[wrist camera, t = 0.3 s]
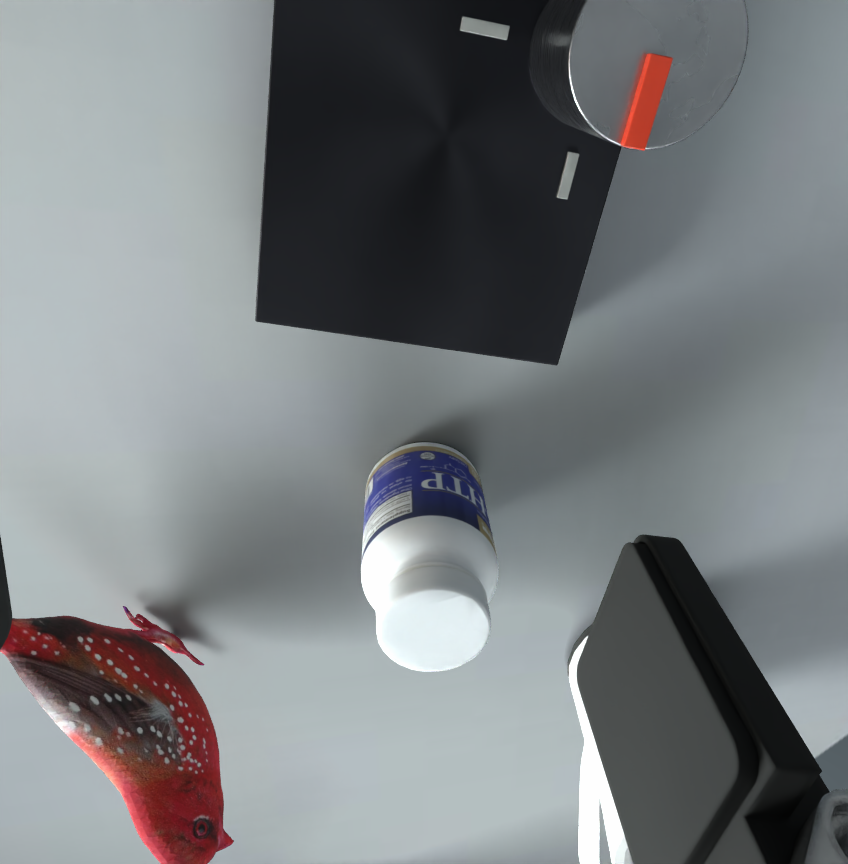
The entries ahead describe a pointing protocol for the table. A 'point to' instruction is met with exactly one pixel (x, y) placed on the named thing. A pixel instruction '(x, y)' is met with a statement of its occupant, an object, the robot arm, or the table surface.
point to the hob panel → (423, 179)
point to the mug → (594, 786)
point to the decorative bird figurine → (131, 724)
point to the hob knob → (638, 65)
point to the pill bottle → (428, 557)
